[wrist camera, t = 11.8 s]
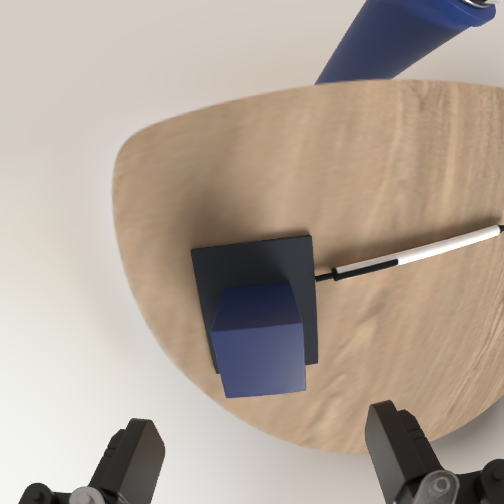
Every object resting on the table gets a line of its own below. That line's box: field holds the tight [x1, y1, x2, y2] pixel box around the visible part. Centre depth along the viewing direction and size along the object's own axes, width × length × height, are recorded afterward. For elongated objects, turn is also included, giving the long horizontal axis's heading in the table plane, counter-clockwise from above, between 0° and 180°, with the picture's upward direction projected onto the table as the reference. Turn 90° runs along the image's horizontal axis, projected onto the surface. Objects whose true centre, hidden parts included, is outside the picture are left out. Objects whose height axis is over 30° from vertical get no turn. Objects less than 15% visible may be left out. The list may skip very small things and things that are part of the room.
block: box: [211, 282, 306, 398], centre depth 17 cm, size 4×4×6 cm
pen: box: [315, 225, 504, 282], centre depth 18 cm, size 1×19×1 cm, turn 103°
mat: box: [191, 235, 318, 374], centre depth 20 cm, size 10×8×1 cm
